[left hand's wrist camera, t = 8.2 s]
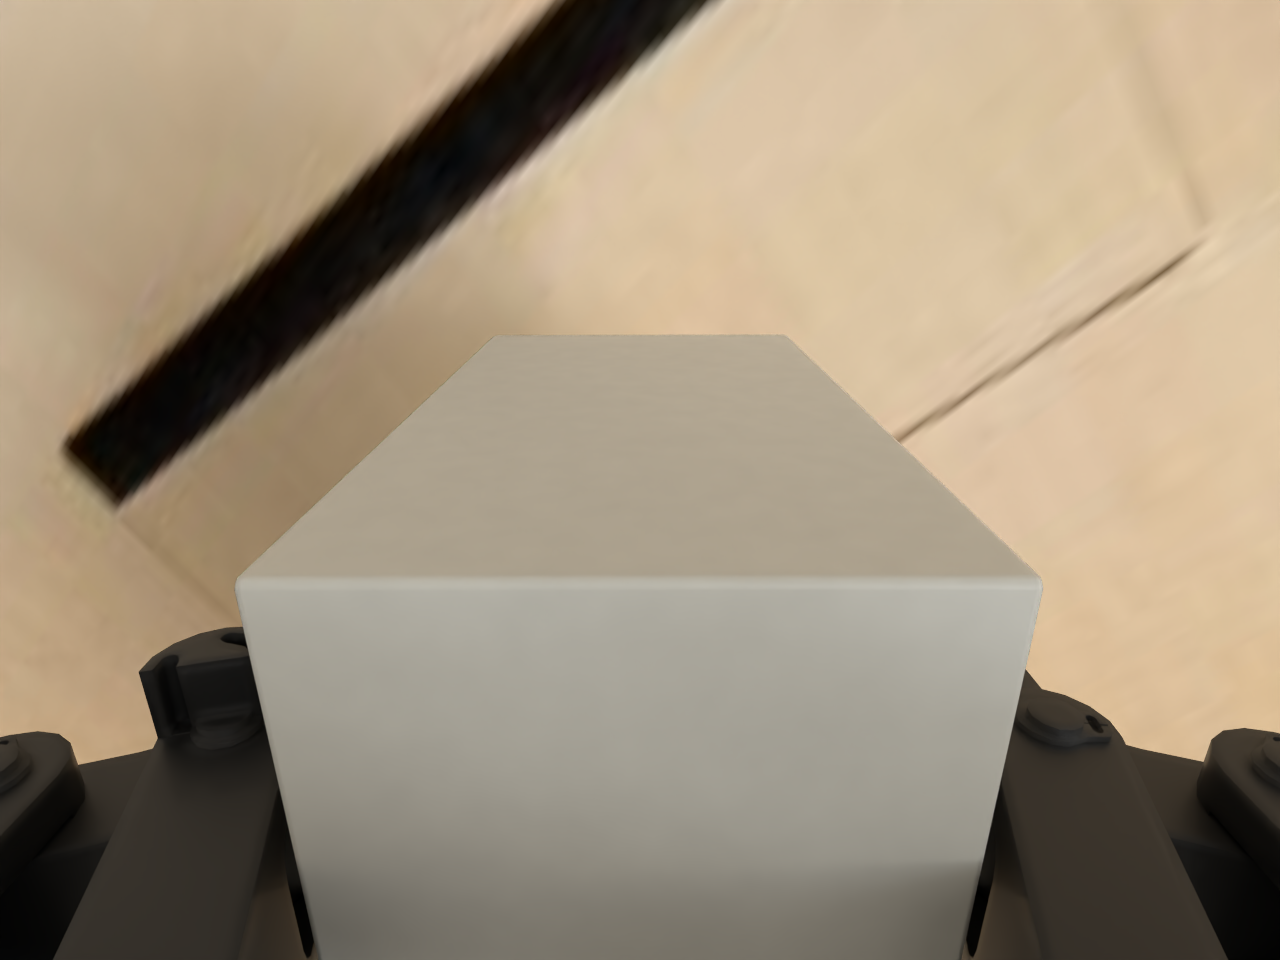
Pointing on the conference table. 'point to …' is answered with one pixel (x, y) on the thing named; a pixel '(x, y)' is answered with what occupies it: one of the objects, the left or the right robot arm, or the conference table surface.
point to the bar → (639, 668)
